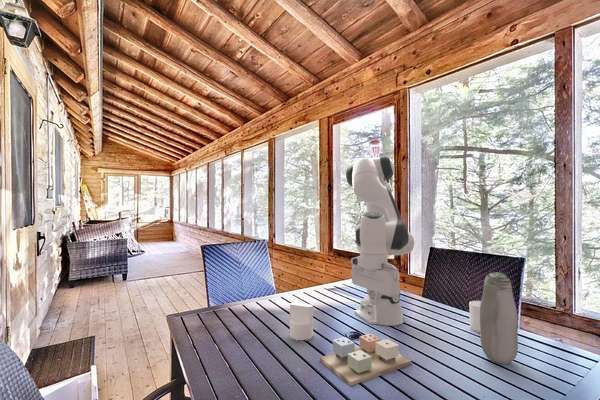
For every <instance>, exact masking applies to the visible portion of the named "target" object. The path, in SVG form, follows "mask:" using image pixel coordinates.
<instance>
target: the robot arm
mask: <svg viewBox="0 0 600 400" xmlns="http://www.w3.org/2000/svg"><path fill="white" fill-rule="evenodd" d="M394 173H395V164H394V162H393V160H392V159H391V157H390V156H388V155H380V156H379V157H378V156H377V157H371V158H369V157H362V158H359V159H357V160H356V161H355V163H354V164H351V165H348V166H347V167H346V169H345V175H344V177H345V180H346V182H347V184H348V185H349V186H351V187H352V190H353V193H354V195H355V196H356V198H358V199H360V200H361V201H363V202H365V207H366V212H365V213H363V214H361V216H360V217H361V218H360V223H358V224H357V225H356V226H355V227H354V231H355V241H354V242H355V244H356V248H357V251H358V252H359V255H358V256H355V257H352V258H351V259H350V263H351V265H352V266H351V281H352V284H353V285H355V286H356V287H357V286H358V287H360V288H364V289H365V290H366V293H367V295H366V296H365V297H363V298H362V299H361V300H360V305H359V308H357V309H355V311H354V314H355V315H357V316H358V317H360V318H362V319H363V320H364V321H366V322H367V323H369V324H370V325H379V326H380V325H381V326H387V327H389V326H399V325H402V324H403V323H404V314H403V312H402V302H401V292H402V291H401V285H400V271H399V269H398V268H397V267H396V265H393V264H392V263H390V262H388V256H402V255H406V254H409V253H412V252H413V250H414V247H415V238H414V236H413V235H412V233H411V232H410V231H408V228H407V226H406V223H405V222H404V220H403V218H402V216H401V212H400V210H399V209H398V208H399V207H398V206H397V203H396V201H395V198H394V196H393V194H392V191H391V190H390V189H389V188H388V187H387V185H386V183H387V184H388V183H389V182H390V180H391V179H392V178H393V176H394ZM385 182H386V183H385Z"/></svg>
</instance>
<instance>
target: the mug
mask: <svg viewBox="0 0 600 400" xmlns="http://www.w3.org/2000/svg"><path fill="white" fill-rule="evenodd" d="M480 304H481V300H472V301H469V303H468V306H469V307H468V308H469V311H468V312H469V327H470V330H472V331H473V332H476V333H478V334H479V333H480Z"/></svg>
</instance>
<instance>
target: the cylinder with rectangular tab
mask: <svg viewBox="0 0 600 400" xmlns="http://www.w3.org/2000/svg"><path fill="white" fill-rule="evenodd" d="M290 336H291V337H292V338H293V339H292V338H291V337H290ZM312 336H313V337H314V304H310V303H304V302H295V301H293V302H290V303H289V337H290V338H291V339H292V340H294V339H297V340H296V341H298V340H305V339H309V338H311V337H312ZM313 337H312V338H313ZM312 338H311V339H312ZM309 340H310V339H309ZM305 341H306V340H305Z"/></svg>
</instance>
